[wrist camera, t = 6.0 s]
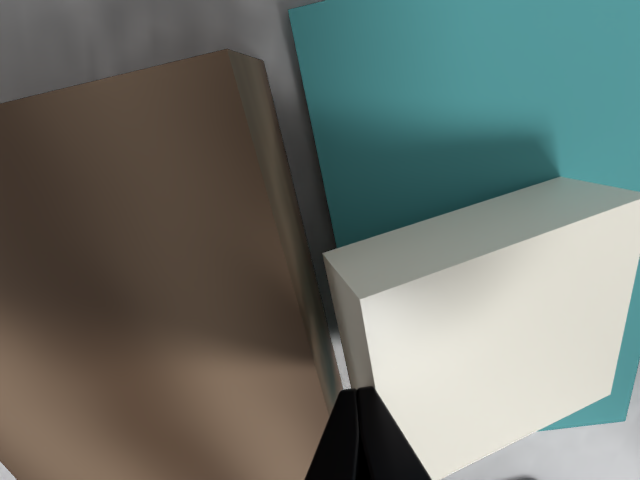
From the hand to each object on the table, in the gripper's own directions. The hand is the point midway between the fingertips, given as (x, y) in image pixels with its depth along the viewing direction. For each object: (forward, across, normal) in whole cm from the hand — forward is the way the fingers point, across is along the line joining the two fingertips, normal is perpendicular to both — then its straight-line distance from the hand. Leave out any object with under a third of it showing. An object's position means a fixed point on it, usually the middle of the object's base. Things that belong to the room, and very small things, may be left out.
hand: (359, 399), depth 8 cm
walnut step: (+5, +7, 0) cm, 8 cm away
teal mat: (+5, -5, 0) cm, 7 cm away
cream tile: (+4, -3, +1) cm, 5 cm away
